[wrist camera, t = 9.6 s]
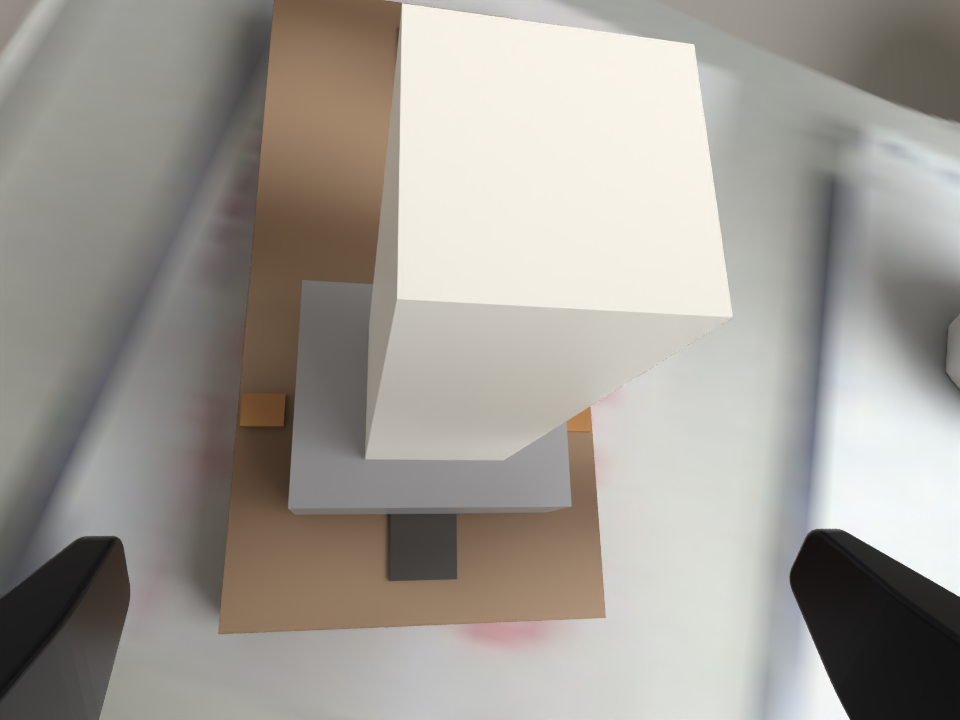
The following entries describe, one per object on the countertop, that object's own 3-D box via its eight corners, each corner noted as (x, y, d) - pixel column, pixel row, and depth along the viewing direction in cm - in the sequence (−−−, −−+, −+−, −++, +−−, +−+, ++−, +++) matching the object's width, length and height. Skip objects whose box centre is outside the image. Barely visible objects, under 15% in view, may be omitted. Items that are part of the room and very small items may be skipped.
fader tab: (545, 512, 16) (898, 430, 6) (294, 515, 15) (186, 416, 5) (536, 323, 18) (806, -12, 7) (307, 311, 16) (243, -105, 6)
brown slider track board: (578, 611, 18) (608, 618, 16) (233, 625, 16) (216, 634, 14) (545, 68, 23) (565, 20, 21) (281, 35, 21) (274, -21, 19)
